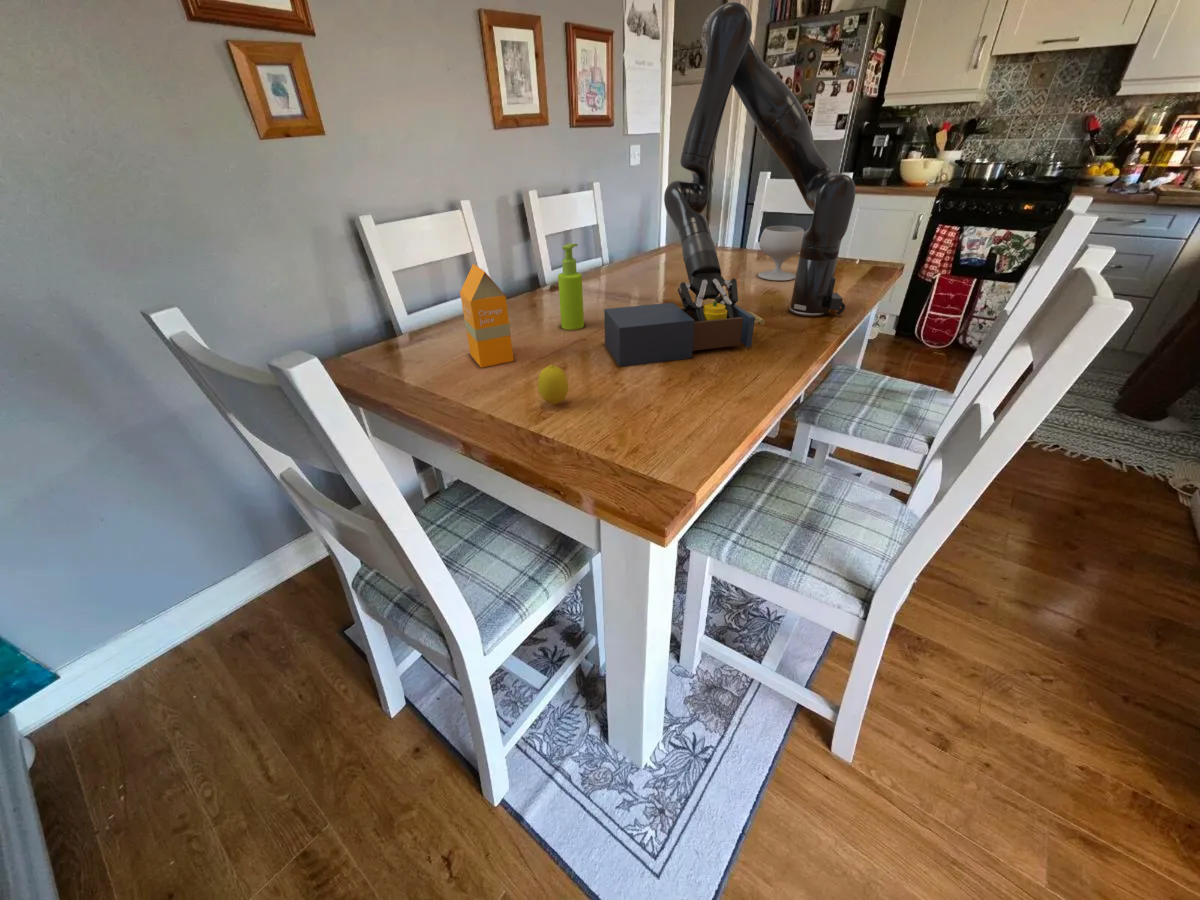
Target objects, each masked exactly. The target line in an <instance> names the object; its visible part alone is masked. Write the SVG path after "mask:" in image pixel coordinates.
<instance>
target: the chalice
mask: <svg viewBox="0 0 1200 900" xmlns="http://www.w3.org/2000/svg"><path fill="white" fill-rule="evenodd" d="M804 232H805V230H804V228H803V227H801V226H796V225H769V226H766V227H765V228H764V229H763V231H762V233H761V235H760V238H759V244H758V245H759V249H760V250H761V252H763V253H764V254H765V255H767V256H768V257H769V258H771V259H772V260H773V261H774V264H775V265H774V266H775V267H774V268H773V270H766V271H761V272H759V273H758V274H757V276H758V277H759V278H760V279H764V280H769V281H790V280H795V278H796V273H792V272H789V271H785V270H782V266H783V263H784V262H785V261H787V260H788V259H790V258H791V257H794V256H796V255H798V254H800V249H801V244H802V237H803V234H804Z"/></svg>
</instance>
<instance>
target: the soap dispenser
mask: <svg viewBox="0 0 1200 900" xmlns="http://www.w3.org/2000/svg"><path fill="white" fill-rule="evenodd" d="M575 247H578V243H566V244H563V246H562V250H564V256H565V257H564V258H563V259H562V260H561V263H562V265H561V266H562V272H561V273H559V274H557V282H558V295H559V308H560V309H559V311H560V324H561V325H560V327H561V328H562V329H563V330H569V331H576V330H580V329H583V328H584V326H585V320H584V319H585V317H584V295H583V274H582V272H577V259H576V258H574V257H573V248H575Z"/></svg>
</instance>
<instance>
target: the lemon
mask: <svg viewBox="0 0 1200 900" xmlns="http://www.w3.org/2000/svg"><path fill="white" fill-rule="evenodd" d="M537 389H538V394H539V395H540V397H541V399H542V400H544V401H545V402H546V403H548V404H551V405H553V406H556V405H558V404H559V403H561V402H562V401H564V400H565V398H566V397H567V394H568V392H569V380H568V378H567V375H566V373H565V371H564V370H563V368H561V367H559V366H557V365H554V364H549V365H548V366H546V367H545V368H543V369H542V370H541V371H540V372H539V374H538V379H537Z"/></svg>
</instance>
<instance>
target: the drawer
mask: <svg viewBox="0 0 1200 900" xmlns="http://www.w3.org/2000/svg"><path fill="white" fill-rule="evenodd" d="M679 308H680V309H681V310H683V311H684V312H685V313H686V314H688V315H689V316H690V317H691V318H693V319H694V320H695V323H694V336H693V349H692V352H693V351H701V350H709V349H719V348H729V347H738V346H740V345H741V344H742V345H743V346H744V347H746V348H749V347H752V343H753V335H754V328H755V325H759V326H764V325H765V323H766V320H765V319H763V318H762V317H760V316H759V315H757V314H755V313H753V312H752V311H751V310H750V311H749V310H748V311H747V310H745V309H743V308H742V307H740V306H739V305H737V304H735V305H734V306H733V307H732V311H733V315H734V318H728V319H718V320H708V321H698V322H696V318H695V314H694V312H693V311H692V310H689V311H687V310H685V308H684V307H679ZM701 308H704V305H701Z"/></svg>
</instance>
